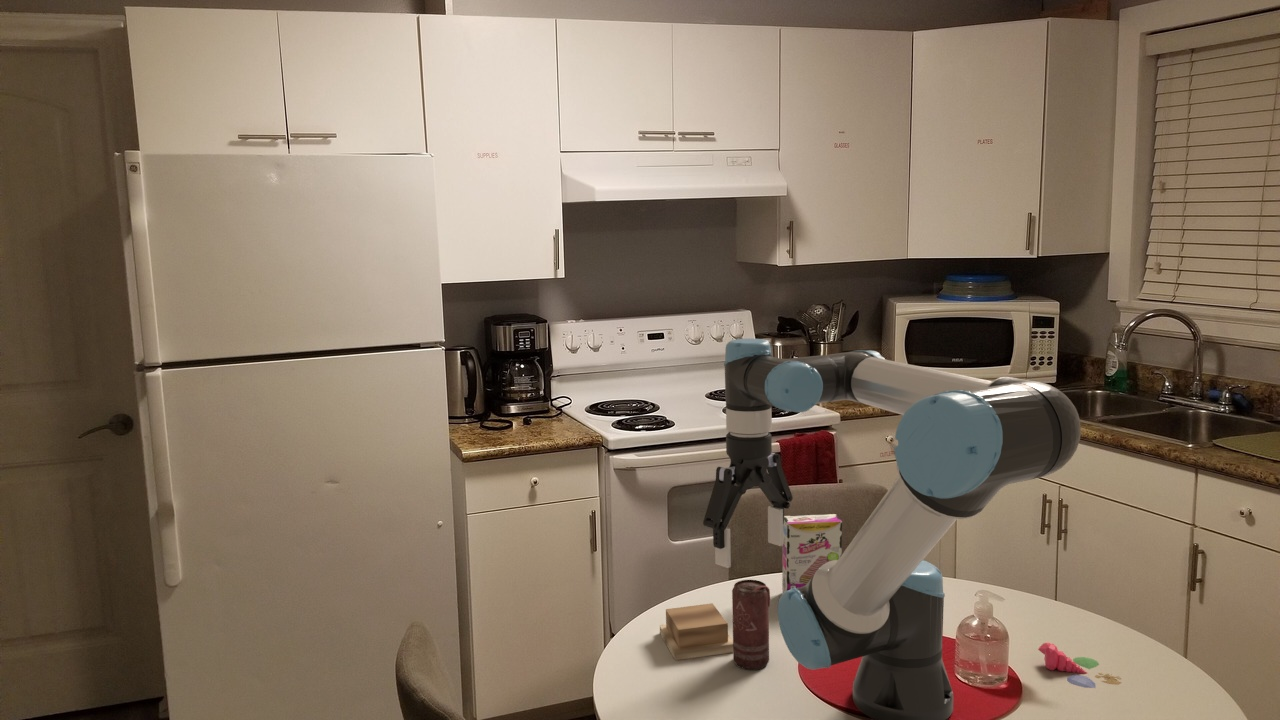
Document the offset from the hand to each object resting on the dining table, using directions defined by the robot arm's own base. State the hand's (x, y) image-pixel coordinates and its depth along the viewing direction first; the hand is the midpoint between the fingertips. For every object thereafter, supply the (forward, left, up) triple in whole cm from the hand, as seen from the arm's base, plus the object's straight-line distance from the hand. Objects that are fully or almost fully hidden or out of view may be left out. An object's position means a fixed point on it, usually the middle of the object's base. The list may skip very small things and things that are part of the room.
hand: (750, 554), depth 155 cm
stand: (+10, +7, -19) cm, 23 cm away
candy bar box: (+23, -21, -20) cm, 37 cm away
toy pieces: (-19, -51, -20) cm, 58 cm away
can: (0, 0, -20) cm, 20 cm away
